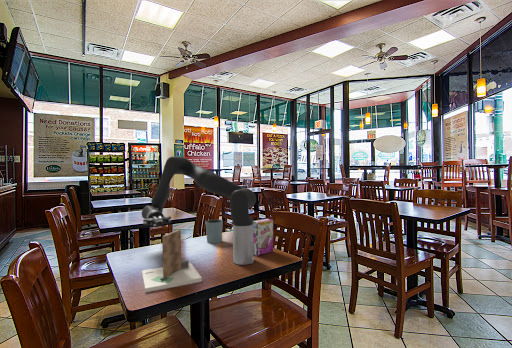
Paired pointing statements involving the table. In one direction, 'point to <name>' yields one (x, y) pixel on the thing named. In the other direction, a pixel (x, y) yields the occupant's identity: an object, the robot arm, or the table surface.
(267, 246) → the candy bar box
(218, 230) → the grey-blue bumpy cylinder
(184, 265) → the brown flat streaked slab
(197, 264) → the table surface
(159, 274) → the plate
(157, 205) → the robot arm
